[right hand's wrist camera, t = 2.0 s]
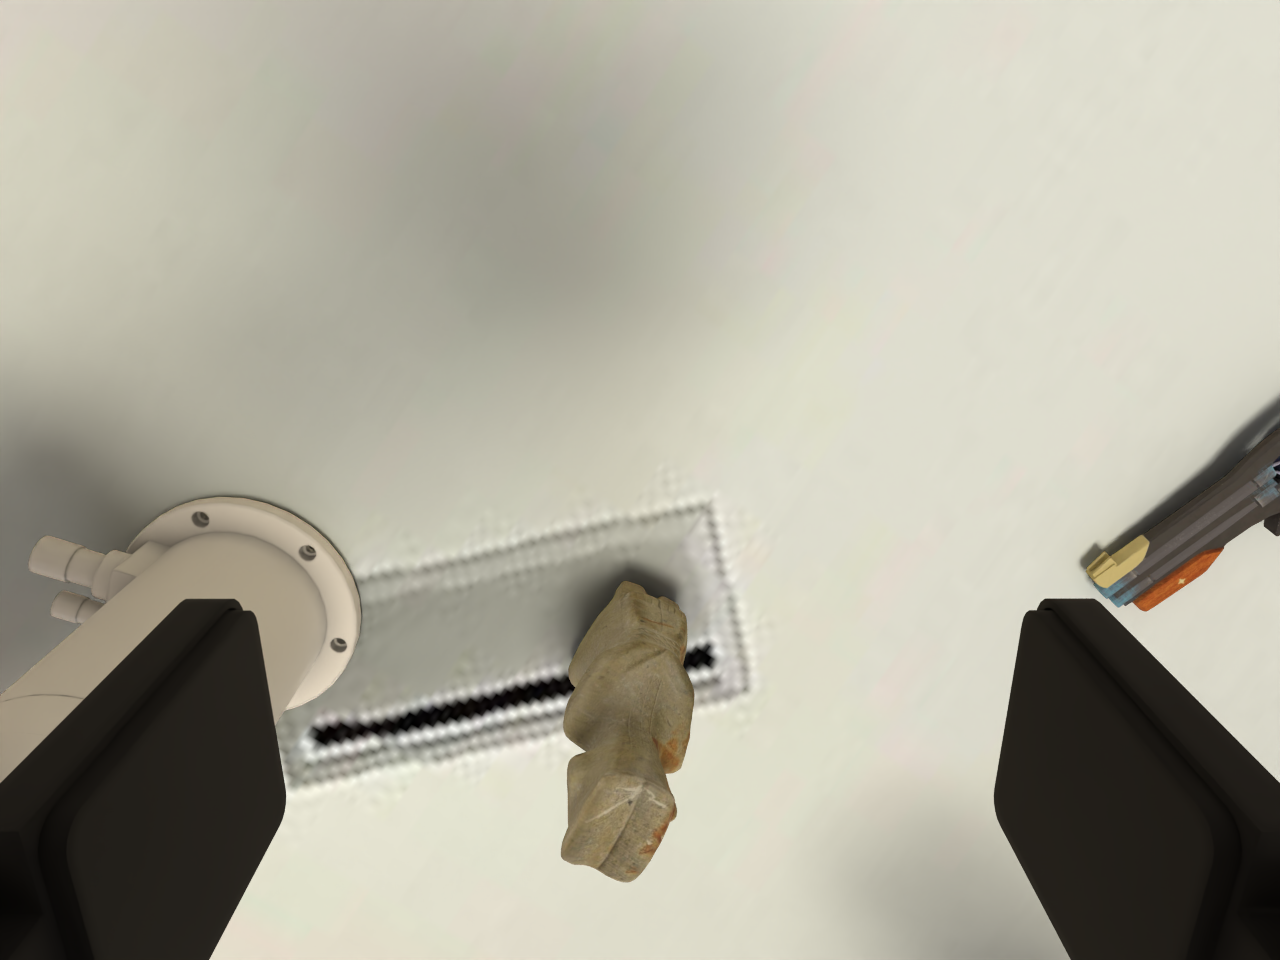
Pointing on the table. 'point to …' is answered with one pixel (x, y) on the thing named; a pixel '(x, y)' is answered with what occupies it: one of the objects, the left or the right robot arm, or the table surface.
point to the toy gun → (1194, 533)
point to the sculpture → (626, 732)
